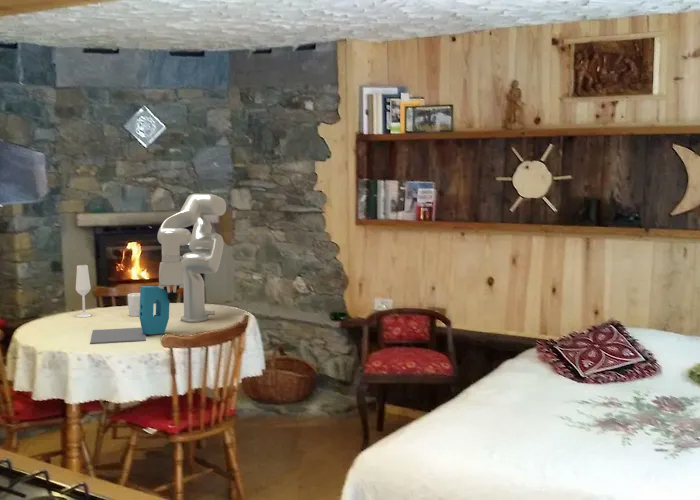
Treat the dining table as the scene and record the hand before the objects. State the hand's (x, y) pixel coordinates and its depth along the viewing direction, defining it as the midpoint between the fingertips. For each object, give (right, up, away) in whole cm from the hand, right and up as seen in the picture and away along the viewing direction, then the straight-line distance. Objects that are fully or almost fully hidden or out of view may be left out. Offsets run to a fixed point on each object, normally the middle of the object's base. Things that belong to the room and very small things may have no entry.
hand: (171, 301), depth 328 cm
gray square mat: (-22, -15, -4) cm, 26 cm away
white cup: (-25, -9, +36) cm, 45 cm away
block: (-8, -14, 0) cm, 16 cm away
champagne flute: (-49, -9, +33) cm, 60 cm away
